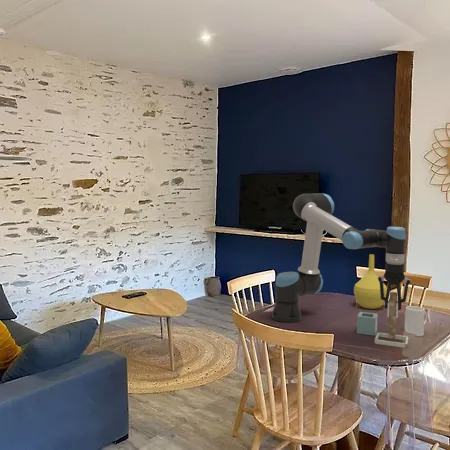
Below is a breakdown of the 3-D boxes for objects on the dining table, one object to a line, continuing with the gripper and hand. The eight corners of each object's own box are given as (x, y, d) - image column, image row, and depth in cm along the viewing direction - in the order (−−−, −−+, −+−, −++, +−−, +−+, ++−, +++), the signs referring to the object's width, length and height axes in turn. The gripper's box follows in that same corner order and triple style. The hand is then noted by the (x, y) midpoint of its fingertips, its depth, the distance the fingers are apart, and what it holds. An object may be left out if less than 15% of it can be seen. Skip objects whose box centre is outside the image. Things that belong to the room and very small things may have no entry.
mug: (420, 329, 221) (422, 304, 220) (433, 334, 213) (435, 309, 211) (400, 331, 217) (401, 306, 216) (412, 337, 209) (414, 311, 208)
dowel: (388, 338, 199) (389, 293, 197) (388, 336, 201) (390, 291, 200) (394, 339, 198) (396, 293, 196) (395, 337, 200) (397, 292, 198)
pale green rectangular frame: (374, 345, 197) (374, 339, 197) (377, 337, 207) (377, 332, 207) (406, 350, 192) (407, 344, 192) (408, 342, 202) (408, 336, 202)
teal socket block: (356, 335, 211) (357, 316, 210) (359, 330, 218) (359, 311, 217) (374, 337, 207) (375, 318, 207) (376, 332, 215) (377, 313, 214)
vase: (346, 303, 267) (348, 252, 264) (374, 301, 272) (375, 251, 270) (365, 312, 249) (367, 257, 247) (394, 309, 255) (396, 256, 252)
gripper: (374, 262, 196) (372, 316, 199) (414, 265, 190) (411, 321, 192) (376, 260, 203) (374, 312, 205) (415, 263, 197) (412, 316, 199)
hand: (392, 316), depth 199 cm, fingers closed on dowel, 3 cm apart
